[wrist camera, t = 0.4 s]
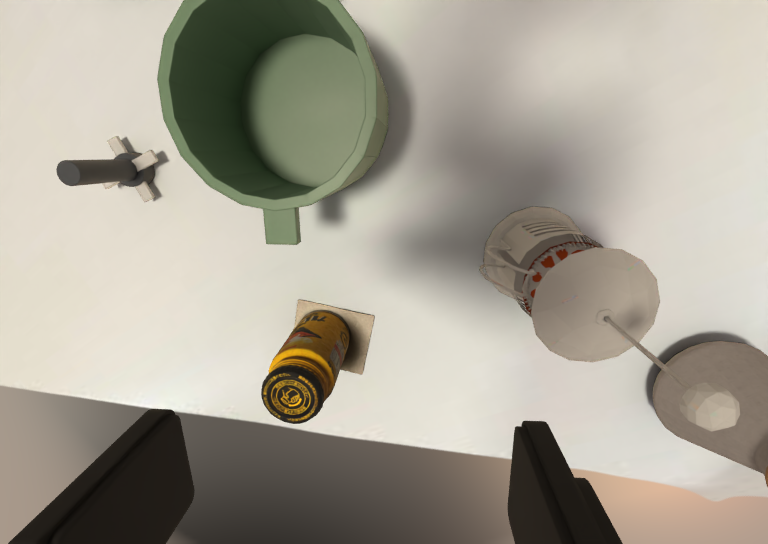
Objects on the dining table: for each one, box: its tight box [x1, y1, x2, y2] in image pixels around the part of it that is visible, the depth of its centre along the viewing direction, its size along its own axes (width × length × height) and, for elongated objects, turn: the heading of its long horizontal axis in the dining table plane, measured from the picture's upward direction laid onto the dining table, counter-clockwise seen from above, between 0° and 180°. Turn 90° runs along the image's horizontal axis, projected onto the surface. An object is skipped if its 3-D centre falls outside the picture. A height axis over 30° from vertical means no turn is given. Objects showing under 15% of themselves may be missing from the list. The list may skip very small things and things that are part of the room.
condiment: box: [261, 300, 374, 424], centre depth 37 cm, size 7×8×12 cm
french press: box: [479, 207, 740, 432], centre depth 27 cm, size 10×12×25 cm
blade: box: [57, 136, 159, 202], centre depth 35 cm, size 6×6×8 cm
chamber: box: [157, 0, 389, 245], centre depth 31 cm, size 15×20×12 cm
